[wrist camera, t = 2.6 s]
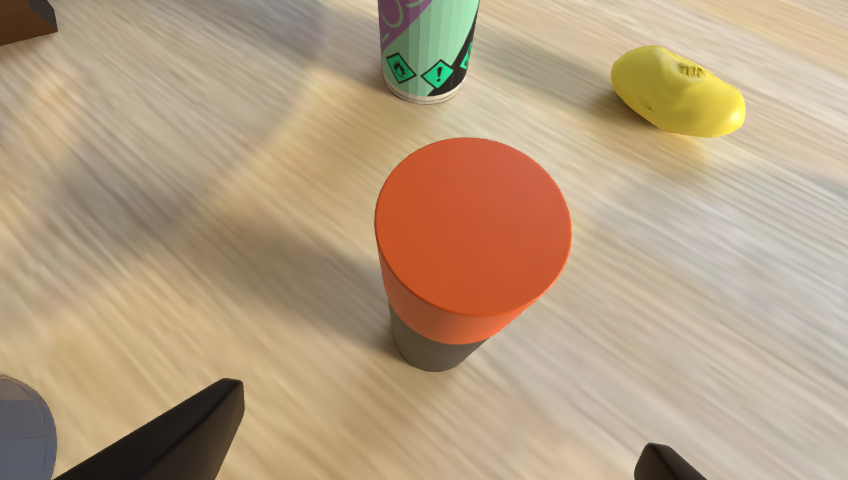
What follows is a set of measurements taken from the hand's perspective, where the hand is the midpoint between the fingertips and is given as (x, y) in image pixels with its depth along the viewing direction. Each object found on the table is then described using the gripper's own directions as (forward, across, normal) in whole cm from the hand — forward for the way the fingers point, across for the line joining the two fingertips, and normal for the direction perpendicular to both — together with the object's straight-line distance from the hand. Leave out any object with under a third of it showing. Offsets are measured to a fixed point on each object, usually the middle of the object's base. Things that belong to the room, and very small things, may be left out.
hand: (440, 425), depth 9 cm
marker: (+10, 0, +4) cm, 11 cm away
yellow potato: (+21, -12, -6) cm, 25 cm away
